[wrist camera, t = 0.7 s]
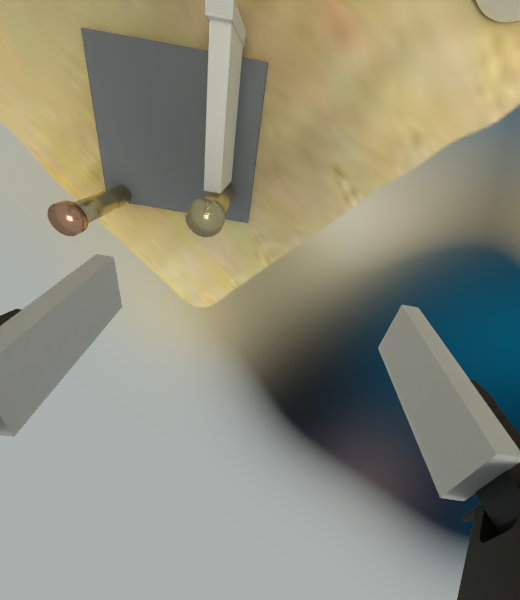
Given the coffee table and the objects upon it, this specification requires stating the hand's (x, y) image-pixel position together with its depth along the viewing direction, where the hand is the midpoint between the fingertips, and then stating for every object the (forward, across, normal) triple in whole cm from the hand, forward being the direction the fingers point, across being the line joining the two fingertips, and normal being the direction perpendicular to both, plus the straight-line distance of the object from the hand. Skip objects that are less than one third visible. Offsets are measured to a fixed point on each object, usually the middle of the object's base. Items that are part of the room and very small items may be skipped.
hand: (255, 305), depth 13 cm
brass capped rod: (+23, -17, -3) cm, 29 cm away
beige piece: (+21, -5, +7) cm, 23 cm away
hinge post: (+23, -5, -1) cm, 23 cm away
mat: (+23, -11, +4) cm, 26 cm away
